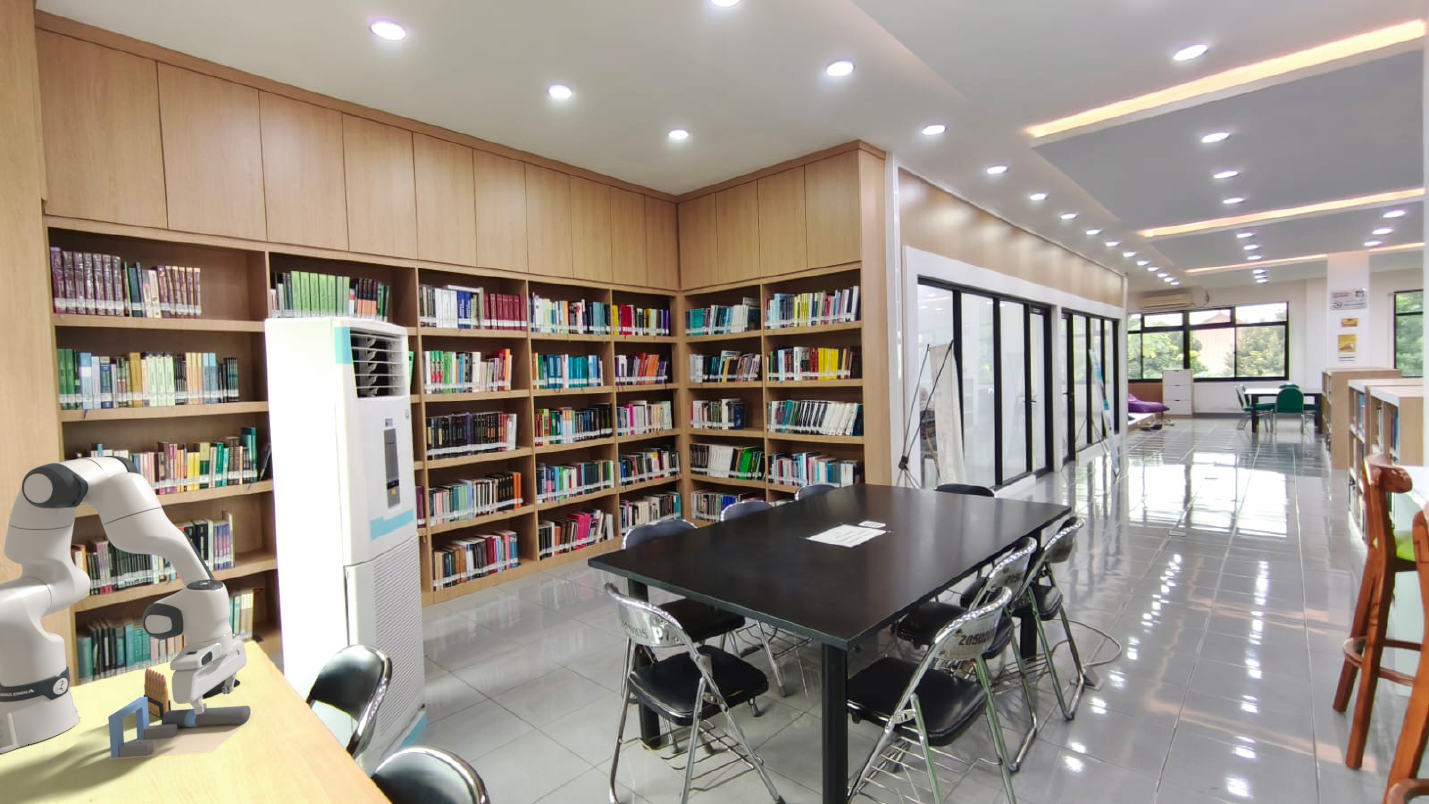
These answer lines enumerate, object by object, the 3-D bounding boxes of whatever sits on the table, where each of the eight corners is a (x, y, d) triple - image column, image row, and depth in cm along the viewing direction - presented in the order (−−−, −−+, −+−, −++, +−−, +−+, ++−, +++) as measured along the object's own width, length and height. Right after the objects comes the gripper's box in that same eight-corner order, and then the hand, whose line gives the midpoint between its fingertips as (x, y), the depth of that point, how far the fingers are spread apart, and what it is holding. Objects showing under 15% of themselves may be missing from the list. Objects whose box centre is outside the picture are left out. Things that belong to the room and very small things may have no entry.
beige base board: (108, 763, 141) (107, 748, 141) (167, 723, 157) (166, 709, 157) (211, 756, 143) (210, 741, 142) (259, 717, 159) (258, 703, 159)
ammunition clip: (172, 720, 159) (168, 673, 159) (163, 723, 157) (159, 677, 157) (153, 710, 164) (150, 665, 164) (144, 713, 163) (141, 668, 162)
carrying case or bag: (169, 696, 172) (199, 707, 166) (168, 685, 172) (198, 696, 166) (214, 679, 182) (243, 688, 175) (213, 668, 181) (243, 678, 175)
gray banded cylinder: (159, 730, 151) (162, 712, 152) (173, 726, 155) (175, 708, 156) (238, 725, 152) (240, 707, 153) (249, 721, 156) (251, 703, 157)
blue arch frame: (111, 758, 141) (108, 716, 141) (142, 736, 150) (140, 697, 150) (118, 757, 142) (115, 716, 141) (150, 735, 150) (147, 696, 150)
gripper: (226, 631, 163) (230, 682, 164) (163, 667, 143) (168, 726, 143) (251, 629, 164) (256, 680, 164) (193, 664, 143) (198, 723, 144)
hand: (215, 702), depth 154 cm, fingers open, 8 cm apart
